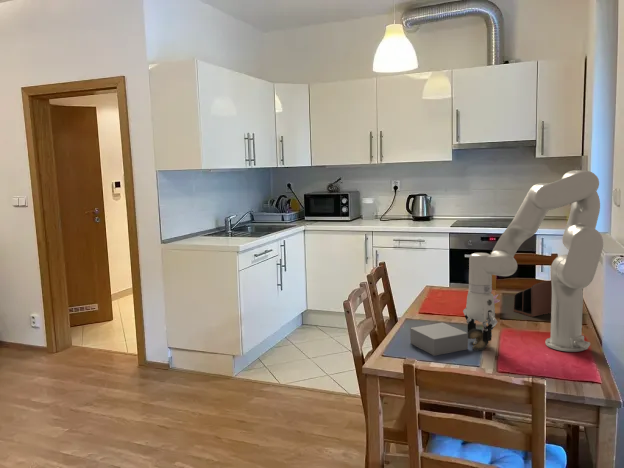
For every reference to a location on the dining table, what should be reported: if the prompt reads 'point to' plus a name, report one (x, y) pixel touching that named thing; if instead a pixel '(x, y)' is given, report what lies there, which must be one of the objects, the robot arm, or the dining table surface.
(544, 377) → the dining table surface
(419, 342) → the gray block
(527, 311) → the letter holder
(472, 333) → the eagle figurine
